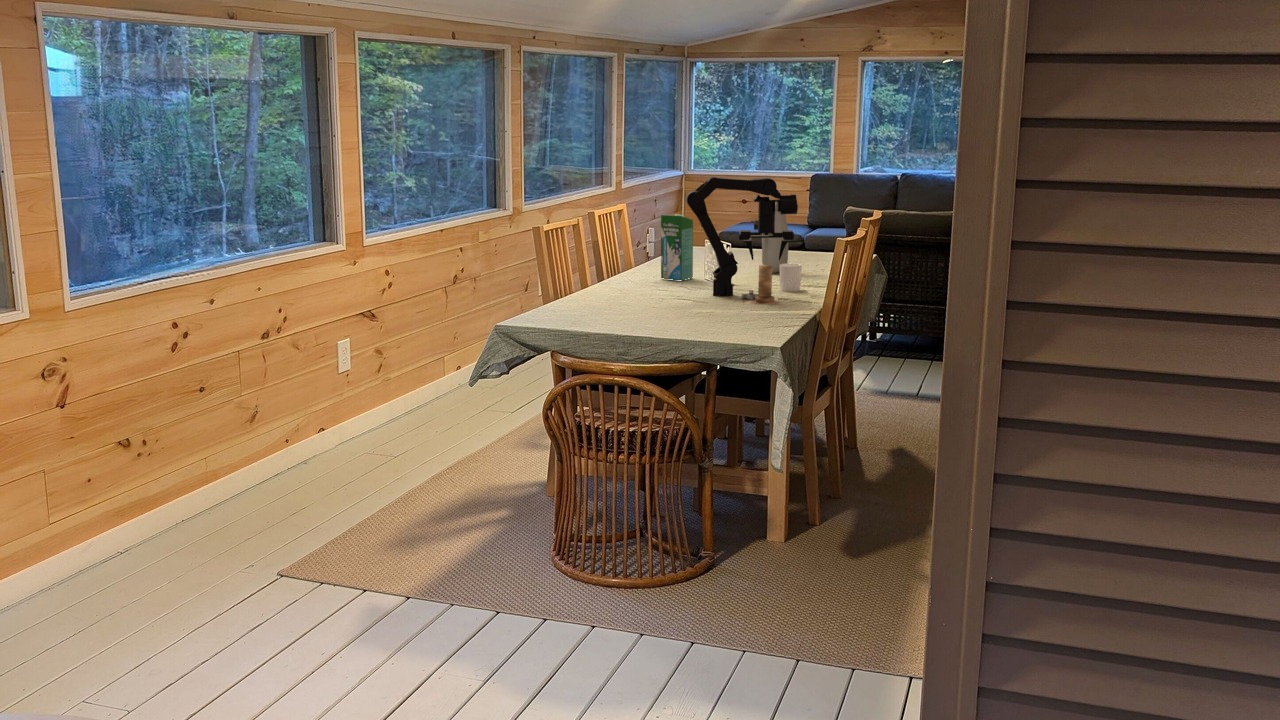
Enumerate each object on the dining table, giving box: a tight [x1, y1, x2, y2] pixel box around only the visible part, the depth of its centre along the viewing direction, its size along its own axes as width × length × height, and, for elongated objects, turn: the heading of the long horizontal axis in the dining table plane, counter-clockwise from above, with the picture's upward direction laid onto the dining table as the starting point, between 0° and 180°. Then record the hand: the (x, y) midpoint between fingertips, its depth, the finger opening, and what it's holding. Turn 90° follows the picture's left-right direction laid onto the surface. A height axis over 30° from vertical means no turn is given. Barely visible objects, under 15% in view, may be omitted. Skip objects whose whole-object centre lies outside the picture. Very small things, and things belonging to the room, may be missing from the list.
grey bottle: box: [761, 202, 789, 274], centre depth 446 cm, size 10×10×28 cm
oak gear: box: [755, 264, 775, 303], centre depth 377 cm, size 6×6×12 cm
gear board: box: [741, 296, 780, 305], centre depth 381 cm, size 12×14×1 cm
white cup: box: [779, 262, 803, 293], centre depth 401 cm, size 8×8×10 cm
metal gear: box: [741, 289, 758, 300], centre depth 383 cm, size 6×7×3 cm
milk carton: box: [660, 213, 694, 281], centre depth 432 cm, size 9×9×25 cm
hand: (766, 260), depth 390 cm, fingers open, 9 cm apart
